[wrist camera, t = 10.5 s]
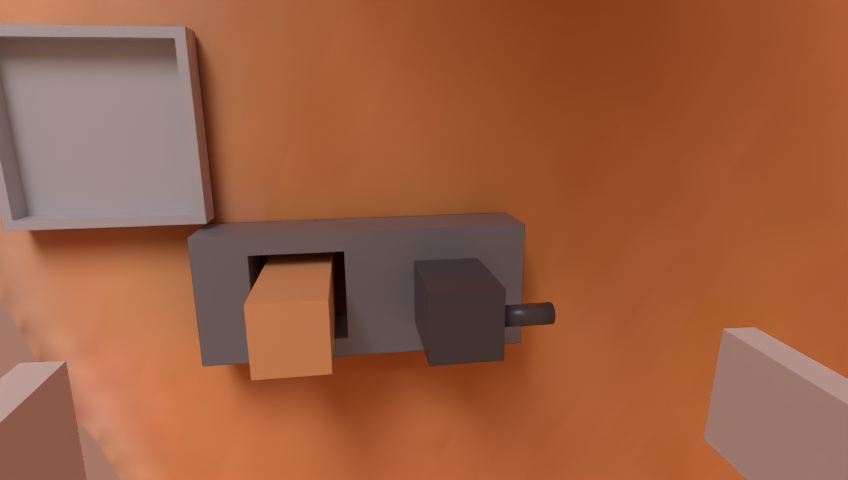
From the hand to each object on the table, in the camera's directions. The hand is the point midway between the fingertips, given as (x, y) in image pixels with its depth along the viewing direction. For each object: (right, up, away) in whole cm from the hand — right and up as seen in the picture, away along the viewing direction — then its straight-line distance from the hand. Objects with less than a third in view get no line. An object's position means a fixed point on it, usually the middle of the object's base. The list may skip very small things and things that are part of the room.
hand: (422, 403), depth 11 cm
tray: (-19, +10, +21) cm, 30 cm away
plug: (-8, +1, +25) cm, 26 cm away
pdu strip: (-4, +1, +25) cm, 26 cm away
